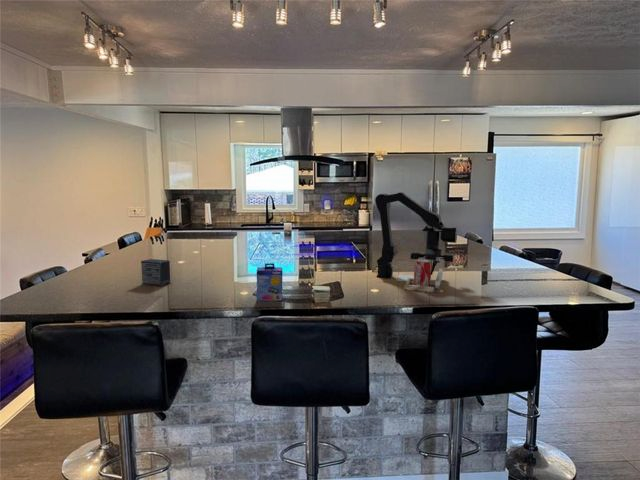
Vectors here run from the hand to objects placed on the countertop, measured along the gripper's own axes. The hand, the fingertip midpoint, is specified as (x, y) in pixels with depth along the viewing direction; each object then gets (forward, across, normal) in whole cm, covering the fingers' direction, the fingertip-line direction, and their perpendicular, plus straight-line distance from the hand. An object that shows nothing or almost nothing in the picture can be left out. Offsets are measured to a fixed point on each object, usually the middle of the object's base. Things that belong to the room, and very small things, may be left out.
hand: (431, 274), depth 196 cm
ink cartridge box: (+3, -57, -52) cm, 77 cm away
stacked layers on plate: (+4, -38, -47) cm, 60 cm away
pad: (+3, -10, +1) cm, 10 cm away
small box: (+3, -113, -49) cm, 123 cm away
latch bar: (+2, +4, -6) cm, 8 cm away
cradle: (+3, -3, -12) cm, 13 cm away
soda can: (+3, -3, -12) cm, 13 cm away
